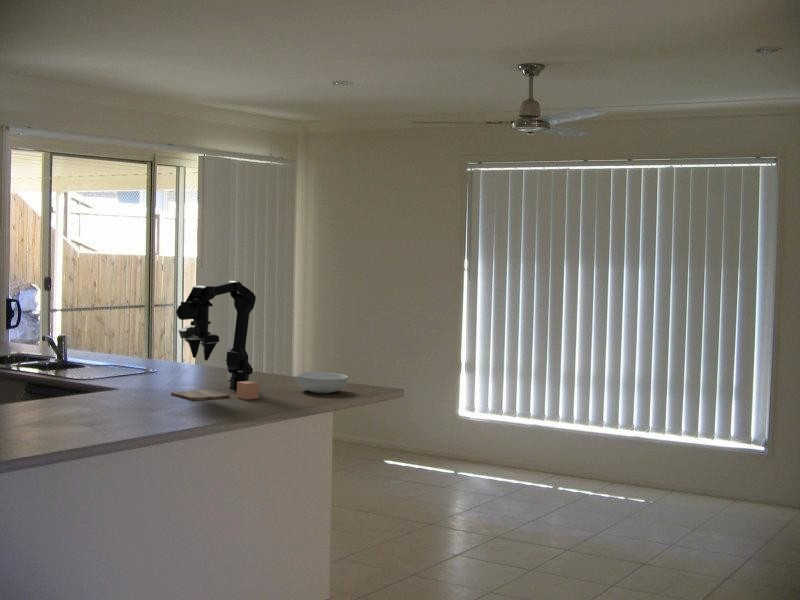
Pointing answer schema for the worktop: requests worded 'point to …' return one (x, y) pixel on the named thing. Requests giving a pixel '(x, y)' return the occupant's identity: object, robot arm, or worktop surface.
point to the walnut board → (200, 395)
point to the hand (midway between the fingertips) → (200, 359)
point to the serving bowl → (322, 381)
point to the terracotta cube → (247, 390)
